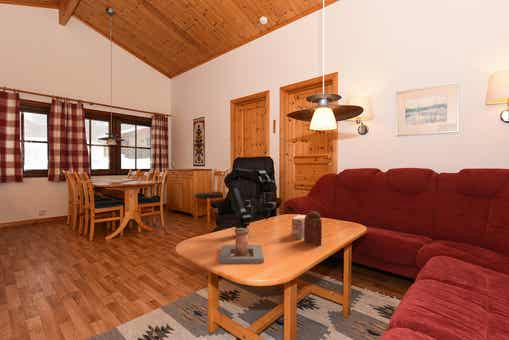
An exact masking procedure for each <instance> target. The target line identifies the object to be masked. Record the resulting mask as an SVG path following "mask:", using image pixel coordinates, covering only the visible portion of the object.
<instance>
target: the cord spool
mask: <svg viewBox="0 0 509 340" xmlns="http://www.w3.org/2000/svg"><path fill="white" fill-rule="evenodd" d="M234 233H235V235H236V237H235V245H236V253H234V257H250V252H248V245H249V233H250V229H249V228H248V227H247V228H237V229H236V228H235V229H234Z"/></svg>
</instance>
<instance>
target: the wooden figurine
mask: <svg viewBox="0 0 509 340" xmlns="http://www.w3.org/2000/svg"><path fill="white" fill-rule="evenodd" d="M304 227H305V228H304V238H303V241H304V242H305V243H308V244H312V245H314V246H322V243H323V242H322V240H323V239H322V238H323V237H322V234H323V233H322V232H323V230H322V229H323V225H322V215H321V214H320V213H319V212H317V211H313V210H312V211H309V212H308V213H307V214H306V215H305V220H304Z"/></svg>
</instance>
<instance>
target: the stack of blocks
mask: <svg viewBox="0 0 509 340" xmlns="http://www.w3.org/2000/svg"><path fill="white" fill-rule="evenodd" d="M305 216H306V215H302V214H298V215H296V216H294V217H292V218H291V239H295V240H301V241H302V240H304V228H305V227H304V220H305Z"/></svg>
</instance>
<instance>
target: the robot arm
mask: <svg viewBox="0 0 509 340" xmlns="http://www.w3.org/2000/svg"><path fill="white" fill-rule="evenodd" d="M241 177H246V178H247V177H248V178H251V179H252V180H253V181H252V182H251V184H254V194H253V196H252V198H250V199H246V200H242V198H241V195H240V192H239V189H238V186H239V180H240V178H241ZM223 183H224V185H225V187H226V188H227V189H228V190H229V193H230V195H231V198H232V201H233V204H234V206H235V210H236V215H235V219H236V220H235V221H234V222H233V223H232V224H233V227H234V228H235V229H237V228H247V229H248V226H250V223H251V222H252V219H253V218H254V212H255V211H254V210H255V209H254V207H255V208H257V207H266V208H265V211H266V213H265V220H266V221H268V219H269V217H270V214H271V212H272V211H273V210H274V209H275V208H277V203H276V202H275V201H268V202H266V200H265V199H266V197H265V196H266V195H267V194H275V193H276V192H277V191H278V190H277V189H278V187H277V184H276V183H275V180H271V179H270V177H269V176H268V174H267V172H266V170H264V169H256V170H255V169H254V170H251V169H244V168H234V169H233V170H232V171H231V172H229V173H228V174H227V175H226V176H224V179H223ZM245 208H247V210H246V209H245ZM234 238H236V234H234Z"/></svg>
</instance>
